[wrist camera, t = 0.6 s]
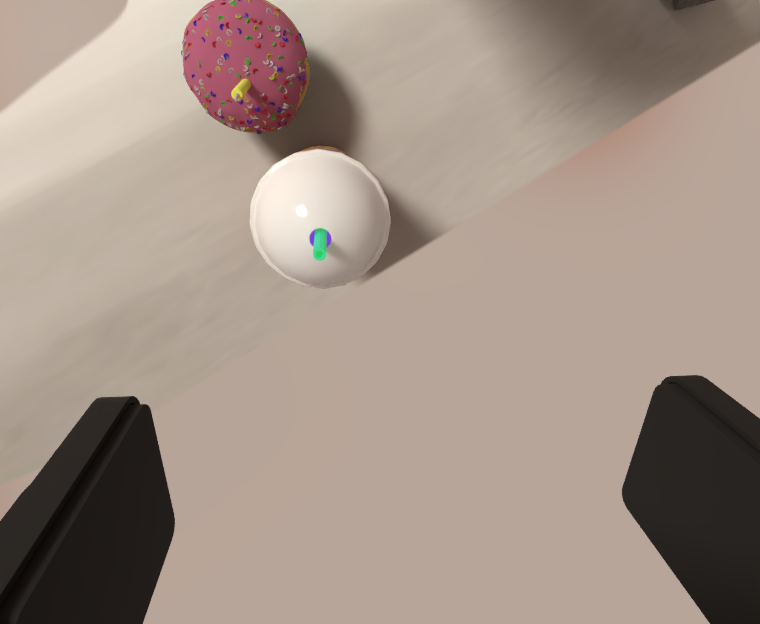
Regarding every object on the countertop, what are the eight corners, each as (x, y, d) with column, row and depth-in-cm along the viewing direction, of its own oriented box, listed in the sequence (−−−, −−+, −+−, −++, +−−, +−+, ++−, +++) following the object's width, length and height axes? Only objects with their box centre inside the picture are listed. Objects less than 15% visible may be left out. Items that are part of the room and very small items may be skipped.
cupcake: (321, 120, 38) (318, 128, 27) (218, 138, 38) (174, 153, 27) (297, -3, 35) (283, -51, 24) (183, 15, 34) (116, -24, 24)
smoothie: (387, 161, 40) (437, 212, 22) (347, 247, 43) (361, 355, 25) (296, 115, 38) (267, 129, 20) (259, 208, 41) (204, 295, 23)
